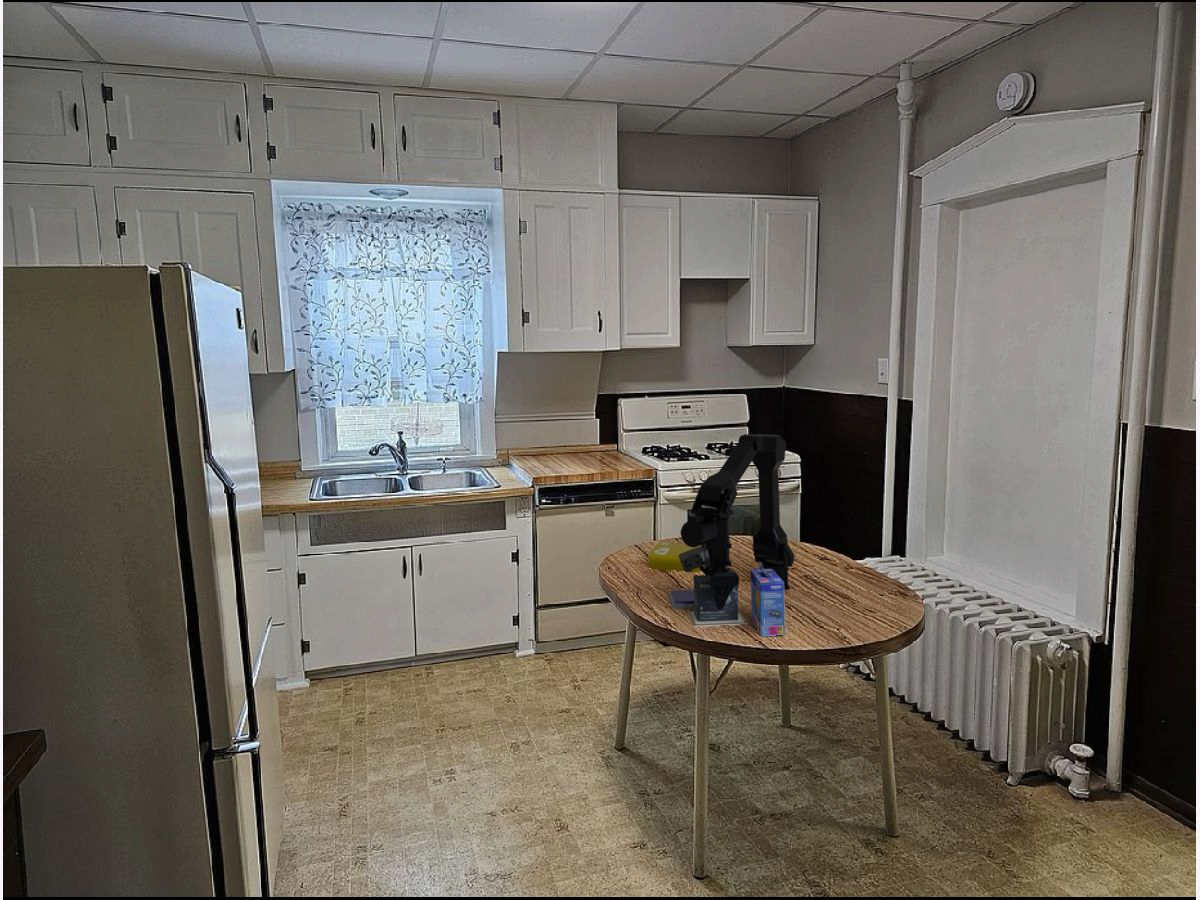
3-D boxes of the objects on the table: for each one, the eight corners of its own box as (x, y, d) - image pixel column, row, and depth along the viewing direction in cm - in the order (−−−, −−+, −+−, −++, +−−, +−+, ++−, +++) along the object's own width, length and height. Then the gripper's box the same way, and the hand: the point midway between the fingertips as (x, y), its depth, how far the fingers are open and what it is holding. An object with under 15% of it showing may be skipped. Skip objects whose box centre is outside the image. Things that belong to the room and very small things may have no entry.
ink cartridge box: (749, 620, 171) (749, 558, 169) (773, 619, 171) (774, 557, 169) (760, 637, 161) (760, 572, 159) (785, 636, 161) (786, 571, 159)
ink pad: (704, 595, 189) (704, 588, 188) (711, 607, 180) (710, 600, 179) (668, 596, 188) (668, 590, 188) (673, 609, 179) (673, 602, 179)
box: (697, 622, 170) (697, 582, 168) (693, 613, 175) (693, 574, 174) (738, 620, 170) (738, 580, 169) (733, 611, 176) (733, 572, 174)
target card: (738, 610, 177) (738, 608, 177) (747, 624, 169) (747, 622, 168) (687, 612, 177) (687, 610, 177) (694, 626, 168) (694, 625, 168)
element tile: (699, 574, 207) (699, 557, 206) (646, 570, 211) (646, 554, 210) (708, 558, 221) (707, 542, 220) (657, 555, 225) (657, 540, 224)
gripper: (675, 528, 179) (675, 591, 181) (687, 550, 160) (688, 620, 163) (721, 526, 179) (721, 589, 182) (739, 548, 161) (739, 618, 163)
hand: (716, 603), depth 172 cm, fingers open, 7 cm apart
